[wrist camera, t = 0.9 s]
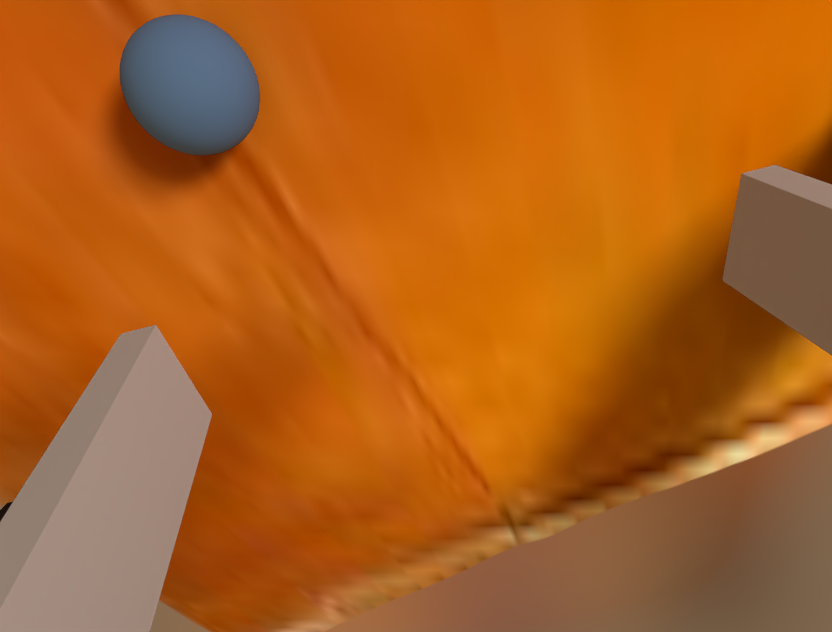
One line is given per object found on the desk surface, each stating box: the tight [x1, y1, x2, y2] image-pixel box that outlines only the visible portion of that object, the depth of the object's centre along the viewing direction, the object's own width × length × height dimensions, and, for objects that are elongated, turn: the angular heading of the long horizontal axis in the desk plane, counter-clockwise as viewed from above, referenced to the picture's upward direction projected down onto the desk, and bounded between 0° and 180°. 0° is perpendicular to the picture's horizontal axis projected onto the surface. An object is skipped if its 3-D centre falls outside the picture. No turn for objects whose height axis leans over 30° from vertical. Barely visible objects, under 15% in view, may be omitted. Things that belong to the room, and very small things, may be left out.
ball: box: [120, 15, 260, 155], centre depth 23 cm, size 6×6×6 cm
